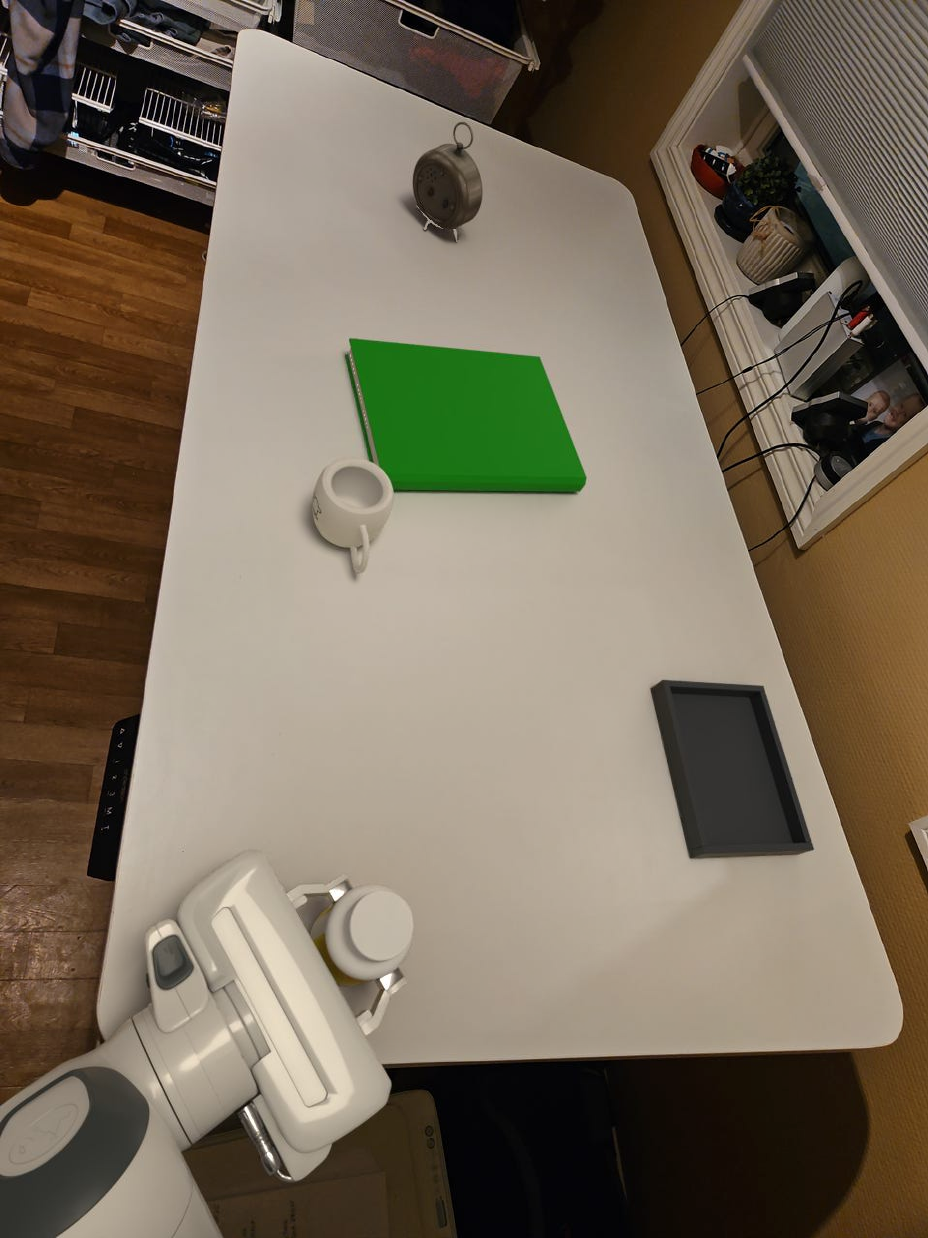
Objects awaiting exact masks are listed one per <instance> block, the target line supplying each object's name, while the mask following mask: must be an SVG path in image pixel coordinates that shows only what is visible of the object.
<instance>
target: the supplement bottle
mask: <svg viewBox="0 0 928 1238" xmlns="http://www.w3.org/2000/svg"><path fill="white" fill-rule="evenodd" d="M414 924H415V923H414V916H413V912H412V910H411V908H410V906H409V904H408V903H407V901H406V900H405V899H404V898H403V897H401V895H400V894H398V893H397V892H396V891H395V890H393V889H391V888H389V887H388V886H387V887H386V886H384V885H380V884H373V883H369V884H367V883H366V884H363V885H359V886H356V887H353V889H352V890H350V891H348V892H347V893H345V894H344V895H343V896H342V897H340V898H339V899H338V900H337V901H336V902H335V903H333V904H332V905H331V904H330V905H329V906H328V907H326V908H325V909H324V910H323V911H322V912H321V913H320V914H319V915H318V917H317V918H316V920H315V921H314V923H313V925H312V927H311V929H310V931H309V935H310V937H311V938H312V940H313V942H314V944H315V946H316V947H317V949H318V951H319V953H320V955H321V956H322V958H323V960H324V962H325V964H326V965H327V967H328V969H329V971H330V972H331V974H332V976H333V978H334V980H335V981H336V983H337V985H338V987H353V986H356V985H361V984H364V983H369V982H371V981H374V980H376V979H379V978H382V977H384V976H387V975H388V974H390V973H392V972H393V971H394V970H396V969H397V968H398V967H399V968H400V966H402V963H403V962H404V961H405V960H406V958H407V956H408V955H409V952H410V950H411V947H412V944H413V940H414V926H415V925H414Z"/></svg>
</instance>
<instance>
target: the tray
mask: <svg viewBox="0 0 928 1238" xmlns="http://www.w3.org/2000/svg"><path fill="white" fill-rule="evenodd" d="M650 691H651V696H652V700H653V705H654V708H655V713H656V717H657V722H658V726H659V730H660V735H661V739H662V743H663V748H664V752H665V757H666V761H667V765H668V770H669V774H670V778H671V783H672V786H673V791H674V795H675V799H676V805H677V808H678V812H679V817H680V823H681V825H682V830H683V834H684V839H685V844H686V847H687V851H688V856H689V859H690V860H692V859H693V860H694V859H717V858H719V859H720V858H721V859H722V858H742V857H743V858H744V857H746V858H747V857H769V856H770V857H771V856H798V855H801V854H805V853H808V852H812V851H814V850H815V848H814V844H813V842H812V841H813V840H812V838H811V834H810V831H809V828H808V825H807V822H806V818H805V816H804V815H805V814H804V813H803V809H802V806H801V802H800V800H799V796H798V793H797V789H796V787H795V784H794V780H793V776H792V773H791V771H790V768H789V764H788V761H787V758H786V755H785V752H784V748H783V744H782V741H781V738H780V735H779V732H778V729H777V726H776V723H775V722H776V721H775V719H774V716H773V713H772V709H771V707H770V702H769V700H768V697H767V693H766V690H765V687H764V685H759V684H743V683H742V684H741V683H726V682H725V683H723V682H707V681H693V680H692V681H690V680H676V679H675V680H674V679H673V680H672V679H661V680H660V681H659V682H657V683H656V684H655V685H653V686H652V687H650Z"/></svg>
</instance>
